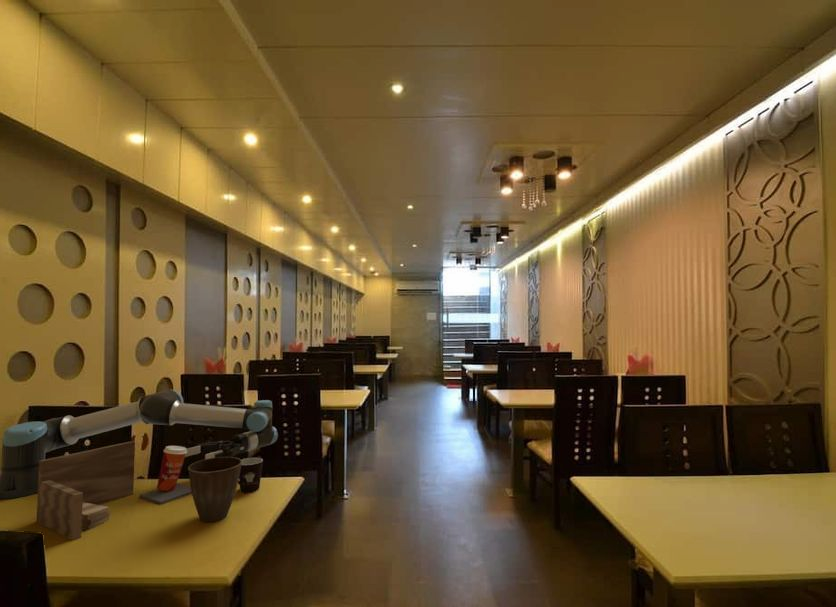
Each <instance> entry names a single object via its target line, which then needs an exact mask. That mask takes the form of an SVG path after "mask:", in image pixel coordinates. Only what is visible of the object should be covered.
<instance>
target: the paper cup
mask: <svg viewBox="0 0 836 607" xmlns="http://www.w3.org/2000/svg"><path fill="white" fill-rule="evenodd" d="M187 449H188V448H186V447H185V446H182V445H168V446H167V445H166V446H165V448H164V449H163V456H162V460H161V466H160V471H159V476H158V480H157V488H156V489H158V490H162V491H171V490H174V489H175V486H176V483H178V480H179V478H180V474H181V470H182V467H183V465H184V461H185V458H186V457H185V455H186V453H187Z"/></svg>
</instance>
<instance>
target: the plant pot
mask: <svg viewBox="0 0 836 607" xmlns="http://www.w3.org/2000/svg"><path fill="white" fill-rule="evenodd" d="M241 460H242V459H240V458H238V457H234V456H233V457H228V456H227V457H217V458H210V459H205V458H204V459H201V460H199V461H198V460H197V461H195V462H193V463H191V464H190V465H188V467H187V470H188V478H189V487H191V491H192V494H191V497H192V499H193V503H194V507H195V509H196V512H197V515H198V517H199V519H200V521H201V522H202V523H215V522H219V521H222V520H223V519H225V518H227V516H228V513H229V511H230V508H231V505H233V504H232V503H233V501H234V498H235V494H236V490H237V487H238V485H239V484H238V481H239V475H240V469H241V463H242V461H241ZM221 519H222V520H221Z"/></svg>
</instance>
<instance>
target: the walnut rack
mask: <svg viewBox="0 0 836 607" xmlns="http://www.w3.org/2000/svg"><path fill="white" fill-rule="evenodd" d="M135 452H136V442H135V441H133V440H131V441H127V442H123V443H117V444H116V443H115V444H112V445H111V444H110V445H108V446H103V447H98V448H93V449H88V450H84V451H79V452H74V453H69V454H64V455H59V456H56V457H49V458H47V459H46V458H45V460H40V461H39V480H38V492H37V498H36V499H37V500H36V501H37V502H36V523H38V524H40V525H42V526H44V527H46V528H48V529H50V530H51V531H53V532H56V533H57V534H59V535H61V534H62V535H61V536H62V537H64V538H67V539H69V540H70V541H74V539H75V540H77V539H81V538H82V529H81V528H82V506H83V502H85V503H90V504H96V505H103V504H105V502H106V503H108V501H109V502H112V501H115V500H118V498H119V499H121V497H122V498H124V497H128V496H131V495H134V482H135V479H134V478H135V458H136V457H135V455H136V453H135ZM114 499H115V500H114ZM111 500H112V501H111Z"/></svg>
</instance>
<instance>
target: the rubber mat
mask: <svg viewBox="0 0 836 607" xmlns="http://www.w3.org/2000/svg"><path fill="white" fill-rule="evenodd" d="M190 495H192V491H191V486H190V485H185V484H181V483H179V482H177V483H176V486H175V489H174V490H171V491H162V490H158V489H157V488H156V489H153V490H150V491H147V492H145V493H140V494H139V495H138V497H139V498H141V497H142V498H141V499H143V498H145V499H144V500H146V499H147V501H149V500H150V501H149V502H152V501H153V503H155V504H158V505H163V504H166V503H169V502H173V501H175V500H177V499H180V498H184V497H185V496H186V497H187V496H190Z"/></svg>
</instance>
